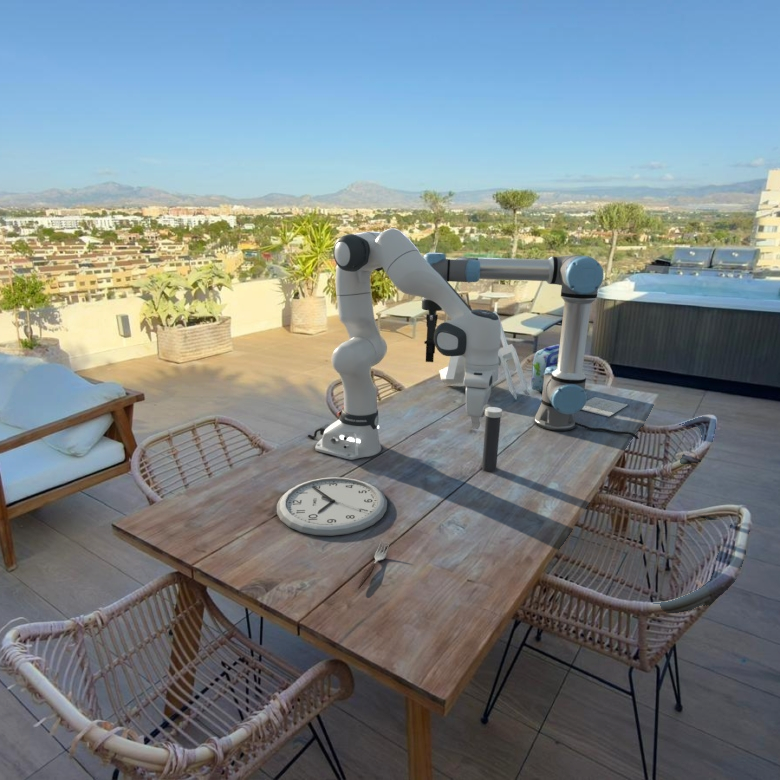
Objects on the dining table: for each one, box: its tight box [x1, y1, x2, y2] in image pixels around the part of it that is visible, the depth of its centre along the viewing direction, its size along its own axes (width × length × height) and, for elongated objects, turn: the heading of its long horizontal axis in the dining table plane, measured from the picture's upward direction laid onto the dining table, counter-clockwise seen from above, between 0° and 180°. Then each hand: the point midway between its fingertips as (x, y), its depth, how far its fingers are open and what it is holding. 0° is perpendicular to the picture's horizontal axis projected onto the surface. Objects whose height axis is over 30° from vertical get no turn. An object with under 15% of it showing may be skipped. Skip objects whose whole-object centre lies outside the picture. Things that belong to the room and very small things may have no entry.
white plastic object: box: [438, 310, 531, 400], centre depth 245 cm, size 37×45×31 cm
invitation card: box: [580, 396, 629, 418], centre depth 226 cm, size 21×1×15 cm
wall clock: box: [276, 476, 388, 537], centre depth 142 cm, size 30×2×30 cm
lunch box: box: [530, 344, 560, 393], centre depth 247 cm, size 26×11×21 cm, turn 134°
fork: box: [357, 541, 391, 589], centre depth 116 cm, size 3×16×2 cm, turn 160°
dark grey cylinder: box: [481, 415, 502, 473], centre depth 163 cm, size 4×4×19 cm
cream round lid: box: [484, 406, 503, 418], centre depth 161 cm, size 5×5×2 cm
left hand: (478, 422), depth 141 cm, fingers open, 8 cm apart
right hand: (430, 357), depth 190 cm, fingers open, 13 cm apart
